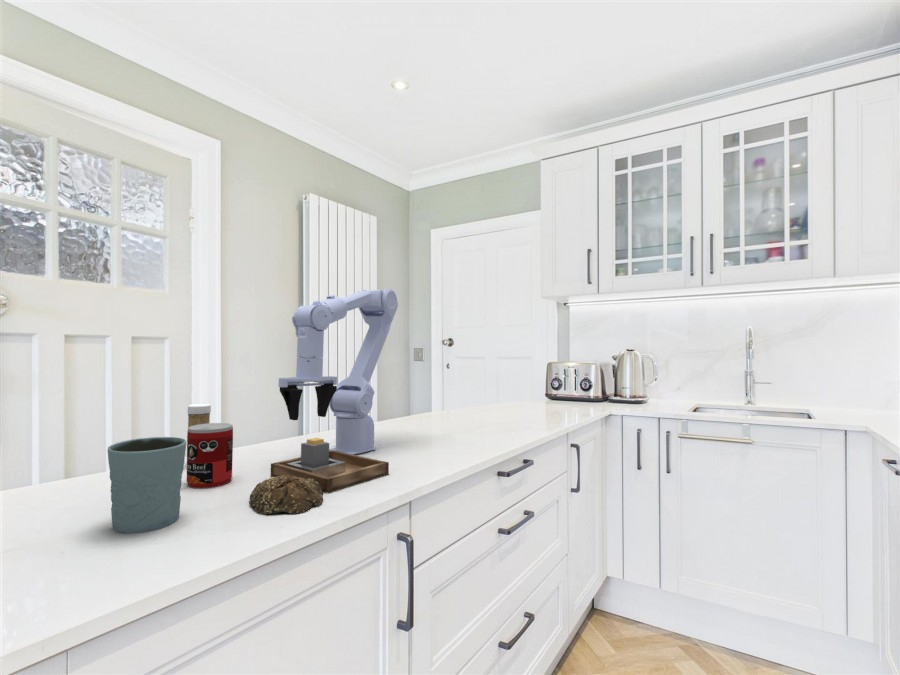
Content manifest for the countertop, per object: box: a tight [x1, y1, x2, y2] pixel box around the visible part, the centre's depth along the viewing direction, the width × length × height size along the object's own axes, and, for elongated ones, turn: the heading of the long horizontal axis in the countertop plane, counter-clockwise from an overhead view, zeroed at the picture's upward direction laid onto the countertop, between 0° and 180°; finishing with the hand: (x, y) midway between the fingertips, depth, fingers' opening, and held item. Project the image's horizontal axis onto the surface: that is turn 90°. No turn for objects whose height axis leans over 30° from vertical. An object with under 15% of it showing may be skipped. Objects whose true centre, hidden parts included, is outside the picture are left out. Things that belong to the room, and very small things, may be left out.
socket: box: [287, 458, 346, 477], centre depth 98 cm, size 8×8×2 cm
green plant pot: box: [107, 436, 187, 534], centre depth 72 cm, size 10×10×12 cm
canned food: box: [186, 422, 234, 489], centre depth 92 cm, size 8×8×11 cm
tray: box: [270, 450, 390, 494], centre depth 98 cm, size 16×18×2 cm
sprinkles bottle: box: [187, 403, 212, 428], centre depth 105 cm, size 5×5×14 cm
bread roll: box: [248, 475, 324, 516], centre depth 82 cm, size 13×12×5 cm
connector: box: [300, 437, 330, 468], centre depth 98 cm, size 4×4×7 cm
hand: (308, 418), depth 107 cm, fingers open, 7 cm apart
